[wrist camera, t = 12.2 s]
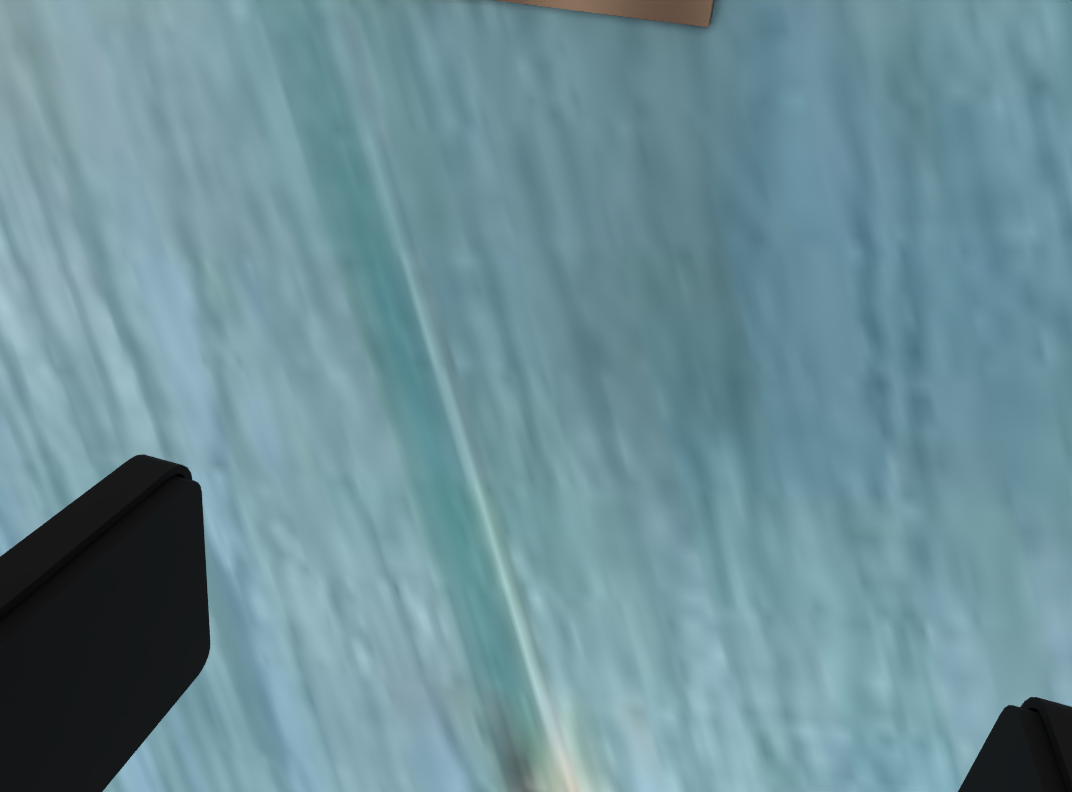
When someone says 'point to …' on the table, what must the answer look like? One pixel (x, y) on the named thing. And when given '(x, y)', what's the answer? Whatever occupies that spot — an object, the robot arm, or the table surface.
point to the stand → (638, 9)
